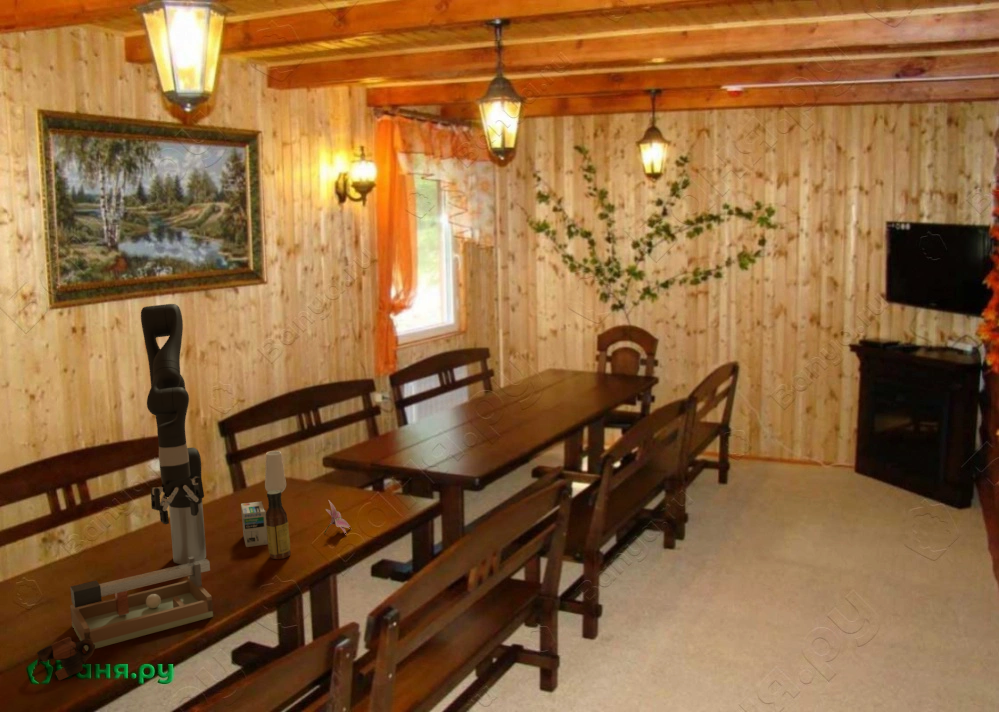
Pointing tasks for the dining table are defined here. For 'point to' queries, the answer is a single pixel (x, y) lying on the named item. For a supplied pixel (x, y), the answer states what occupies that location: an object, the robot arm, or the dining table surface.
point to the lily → (337, 518)
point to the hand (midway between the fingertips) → (180, 519)
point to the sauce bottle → (277, 527)
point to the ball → (153, 601)
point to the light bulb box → (254, 524)
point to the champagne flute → (274, 472)
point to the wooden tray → (144, 612)
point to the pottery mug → (67, 655)
